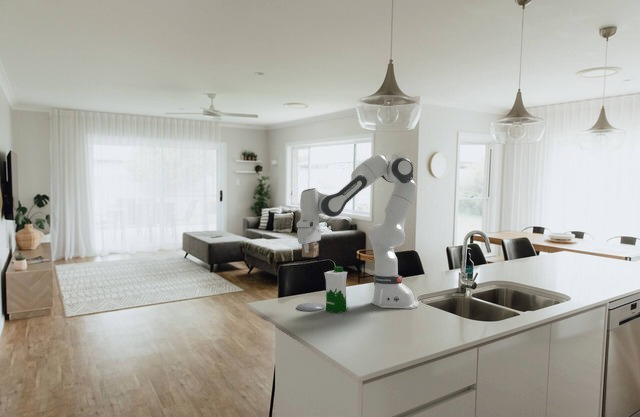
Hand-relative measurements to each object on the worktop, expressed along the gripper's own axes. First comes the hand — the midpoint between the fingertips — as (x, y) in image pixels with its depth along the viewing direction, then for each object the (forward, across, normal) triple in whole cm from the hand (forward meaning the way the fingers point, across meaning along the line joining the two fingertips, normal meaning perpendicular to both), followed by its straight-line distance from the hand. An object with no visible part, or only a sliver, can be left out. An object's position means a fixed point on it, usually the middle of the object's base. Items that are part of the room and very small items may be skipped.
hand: (310, 251), depth 199 cm
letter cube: (+2, 0, 0) cm, 2 cm away
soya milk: (+27, +1, +13) cm, 30 cm away
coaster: (+27, 0, 0) cm, 27 cm away
